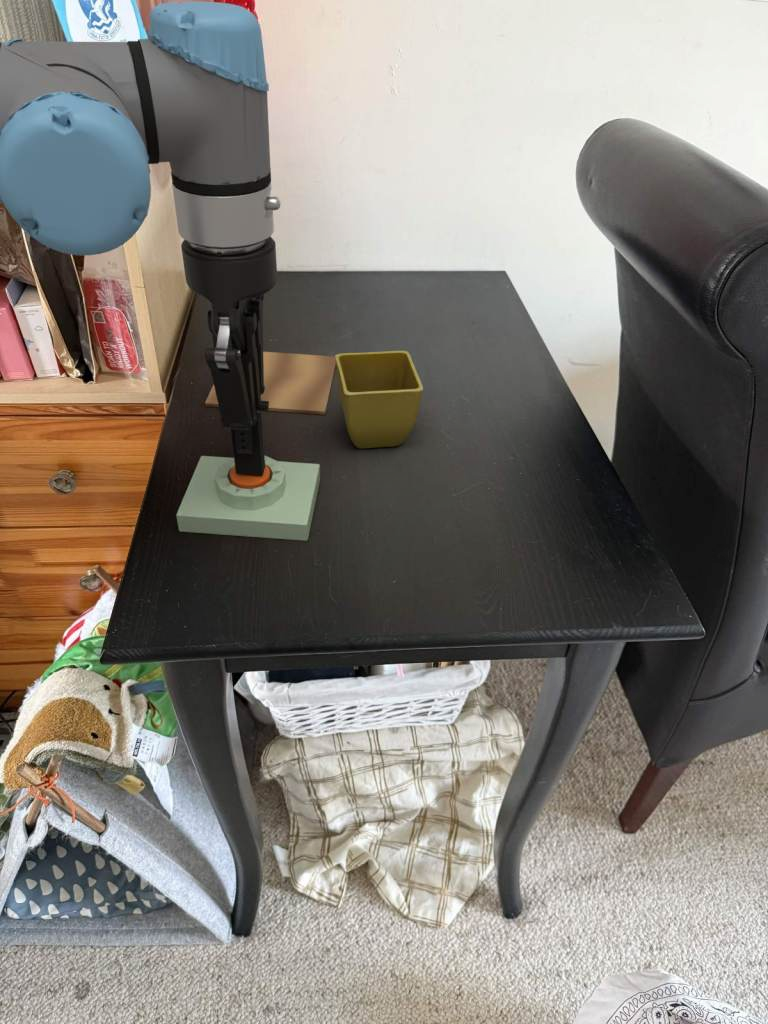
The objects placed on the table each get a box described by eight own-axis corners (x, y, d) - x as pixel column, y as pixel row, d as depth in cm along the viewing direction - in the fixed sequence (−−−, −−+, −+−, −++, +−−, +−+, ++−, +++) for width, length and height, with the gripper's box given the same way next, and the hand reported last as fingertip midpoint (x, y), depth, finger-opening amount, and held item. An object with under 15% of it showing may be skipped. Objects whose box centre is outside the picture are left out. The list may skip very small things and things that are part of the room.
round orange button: (227, 496, 74) (225, 483, 73) (235, 472, 77) (234, 459, 76) (266, 499, 74) (265, 486, 73) (273, 475, 77) (272, 462, 76)
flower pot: (418, 456, 85) (424, 389, 79) (343, 461, 83) (344, 393, 78) (403, 414, 91) (408, 349, 85) (334, 419, 90) (334, 353, 84)
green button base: (178, 531, 73) (173, 501, 71) (203, 471, 81) (199, 441, 78) (307, 541, 73) (306, 510, 70) (320, 479, 81) (319, 450, 78)
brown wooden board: (205, 406, 91) (204, 403, 90) (229, 352, 101) (229, 349, 101) (325, 414, 90) (325, 411, 90) (337, 359, 101) (337, 356, 101)
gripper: (259, 272, 54) (276, 514, 69) (287, 212, 64) (297, 436, 79) (158, 266, 54) (197, 509, 69) (201, 207, 64) (228, 431, 79)
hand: (250, 470), depth 74 cm, fingers closed
